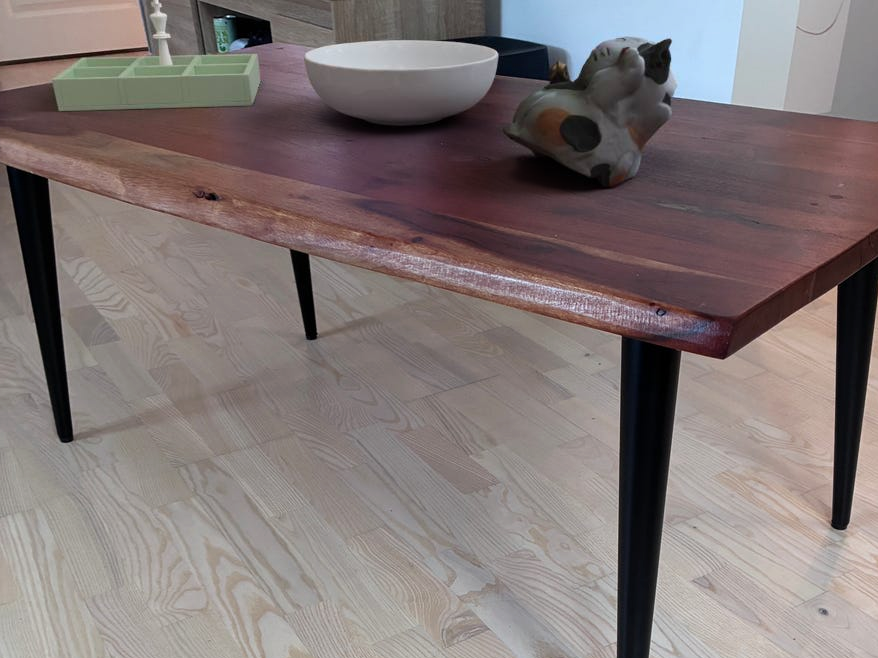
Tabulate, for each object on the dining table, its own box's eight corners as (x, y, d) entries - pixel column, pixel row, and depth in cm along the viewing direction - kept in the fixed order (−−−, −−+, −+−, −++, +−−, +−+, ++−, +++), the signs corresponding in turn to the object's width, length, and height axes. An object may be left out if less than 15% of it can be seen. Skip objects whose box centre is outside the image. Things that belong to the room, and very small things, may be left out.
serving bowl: (534, 112, 105) (535, 48, 101) (416, 150, 90) (414, 76, 87) (394, 91, 116) (391, 32, 112) (268, 122, 101) (261, 55, 97)
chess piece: (177, 79, 119) (163, -6, 114) (197, 84, 116) (184, -3, 111) (141, 84, 116) (126, -3, 111) (160, 89, 113) (146, 0, 108)
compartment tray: (58, 111, 106) (51, 79, 104) (87, 86, 118) (81, 57, 117) (252, 105, 108) (248, 74, 107) (260, 82, 121) (257, 53, 119)
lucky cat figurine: (523, 146, 91) (595, 10, 87) (628, 207, 90) (706, 71, 85) (480, 135, 77) (563, -28, 73) (603, 207, 76) (696, 45, 71)
